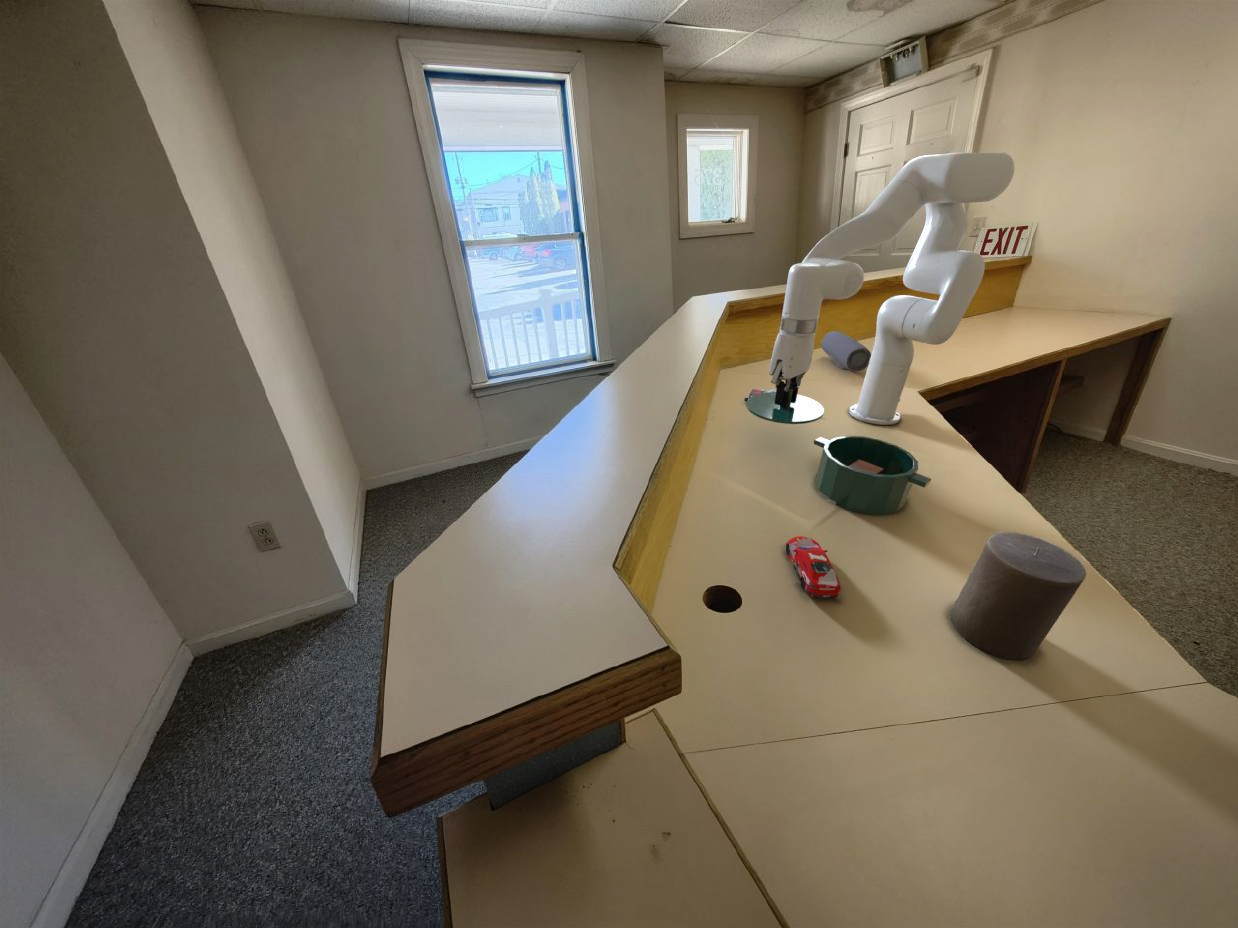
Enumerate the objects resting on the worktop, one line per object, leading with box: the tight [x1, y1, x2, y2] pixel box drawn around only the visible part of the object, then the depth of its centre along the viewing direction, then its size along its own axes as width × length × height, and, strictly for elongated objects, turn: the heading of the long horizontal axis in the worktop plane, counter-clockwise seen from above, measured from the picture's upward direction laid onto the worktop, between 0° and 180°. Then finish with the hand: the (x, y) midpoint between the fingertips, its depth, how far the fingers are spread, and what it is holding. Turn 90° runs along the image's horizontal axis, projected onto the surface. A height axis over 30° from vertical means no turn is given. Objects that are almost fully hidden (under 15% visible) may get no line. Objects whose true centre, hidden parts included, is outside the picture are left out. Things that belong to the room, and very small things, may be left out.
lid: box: [745, 387, 825, 425], centre depth 108 cm, size 18×18×6 cm
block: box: [849, 459, 884, 475], centre depth 92 cm, size 5×5×5 cm
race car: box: [785, 535, 841, 600], centre depth 72 cm, size 13×5×4 cm, turn 177°
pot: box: [813, 435, 932, 516], centre depth 91 cm, size 17×22×8 cm
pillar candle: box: [950, 531, 1087, 661], centre depth 59 cm, size 10×10×15 cm
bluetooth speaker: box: [820, 330, 872, 373], centre depth 162 cm, size 23×9×10 cm, turn 179°
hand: (785, 402), depth 108 cm, fingers closed on lid, 2 cm apart
